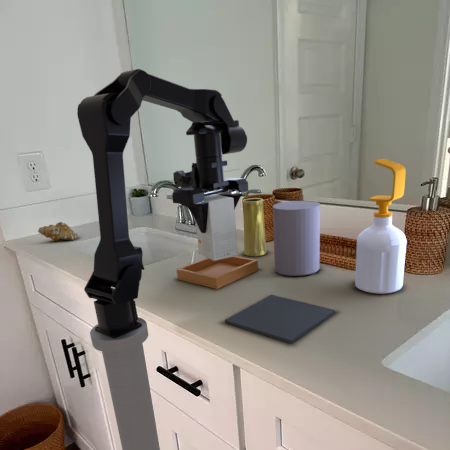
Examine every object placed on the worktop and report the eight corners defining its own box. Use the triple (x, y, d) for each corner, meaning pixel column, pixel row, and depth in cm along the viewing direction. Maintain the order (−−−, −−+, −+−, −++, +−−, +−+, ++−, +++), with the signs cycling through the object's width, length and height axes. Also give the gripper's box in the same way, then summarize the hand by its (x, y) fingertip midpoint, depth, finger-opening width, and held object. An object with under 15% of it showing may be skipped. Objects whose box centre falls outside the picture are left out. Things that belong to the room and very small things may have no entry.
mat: (291, 343, 67) (291, 340, 67) (224, 322, 76) (224, 319, 76) (334, 312, 77) (335, 309, 76) (271, 297, 86) (271, 294, 85)
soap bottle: (368, 276, 93) (375, 157, 83) (410, 284, 86) (422, 156, 77) (346, 288, 87) (351, 162, 78) (389, 298, 81) (399, 162, 72)
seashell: (63, 253, 143) (41, 229, 138) (55, 252, 150) (34, 230, 145) (82, 235, 147) (62, 211, 142) (74, 235, 153) (54, 213, 148)
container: (297, 260, 107) (296, 199, 101) (328, 269, 99) (330, 203, 93) (265, 269, 101) (263, 206, 96) (296, 280, 94) (295, 211, 88)
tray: (217, 289, 92) (216, 278, 91) (177, 279, 100) (176, 269, 99) (258, 270, 102) (258, 260, 101) (219, 262, 110) (218, 253, 109)
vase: (260, 257, 111) (257, 202, 106) (239, 255, 114) (236, 201, 109) (270, 251, 116) (268, 197, 110) (250, 249, 119) (248, 197, 114)
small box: (238, 255, 97) (234, 197, 92) (213, 261, 94) (207, 201, 89) (222, 248, 103) (217, 193, 98) (198, 253, 101) (192, 197, 96)
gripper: (211, 153, 102) (216, 218, 108) (150, 161, 90) (160, 234, 95) (248, 152, 95) (251, 222, 101) (187, 161, 82) (195, 240, 88)
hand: (215, 229), depth 97 cm, fingers closed on small box, 7 cm apart
